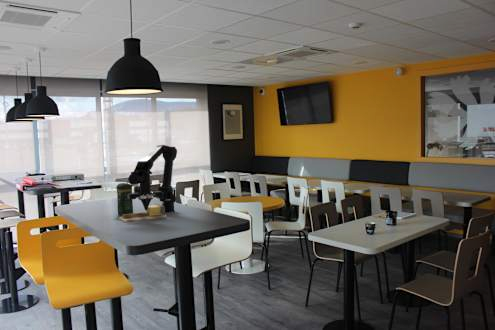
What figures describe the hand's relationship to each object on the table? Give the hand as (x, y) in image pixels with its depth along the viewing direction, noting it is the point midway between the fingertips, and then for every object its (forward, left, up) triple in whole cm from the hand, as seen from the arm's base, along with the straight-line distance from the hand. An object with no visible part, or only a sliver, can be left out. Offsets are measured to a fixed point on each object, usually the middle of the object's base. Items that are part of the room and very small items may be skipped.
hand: (146, 210), depth 222 cm
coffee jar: (+7, -19, -4) cm, 21 cm away
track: (+2, 0, -4) cm, 4 cm away
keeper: (-4, 0, -3) cm, 5 cm away
